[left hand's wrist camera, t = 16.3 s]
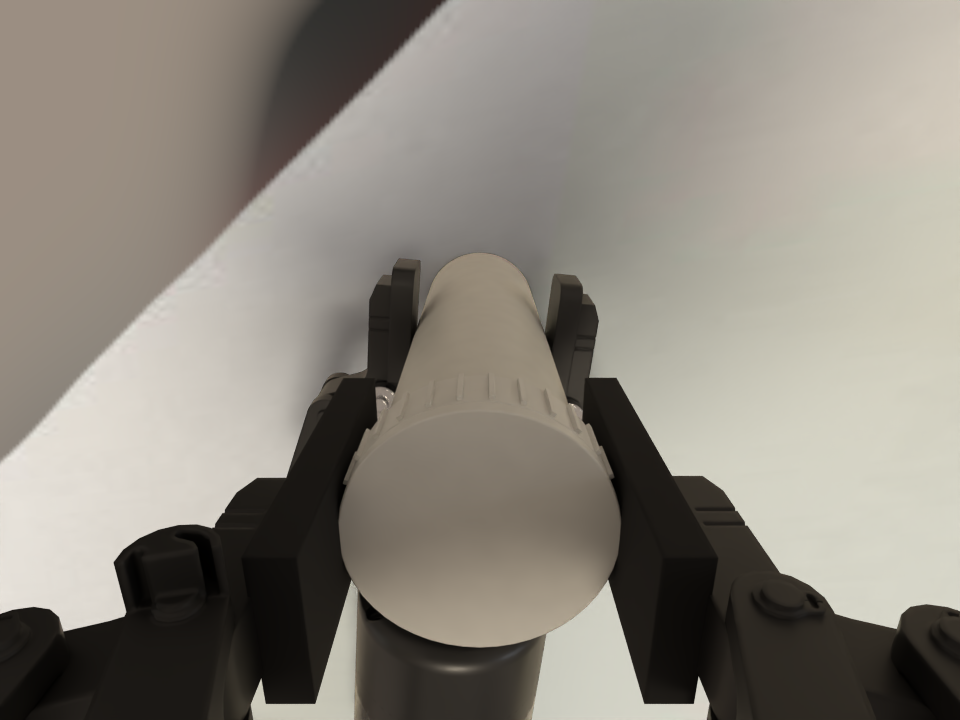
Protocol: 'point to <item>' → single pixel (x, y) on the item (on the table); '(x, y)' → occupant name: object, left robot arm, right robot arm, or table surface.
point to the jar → (479, 328)
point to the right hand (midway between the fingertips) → (486, 273)
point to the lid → (479, 512)
